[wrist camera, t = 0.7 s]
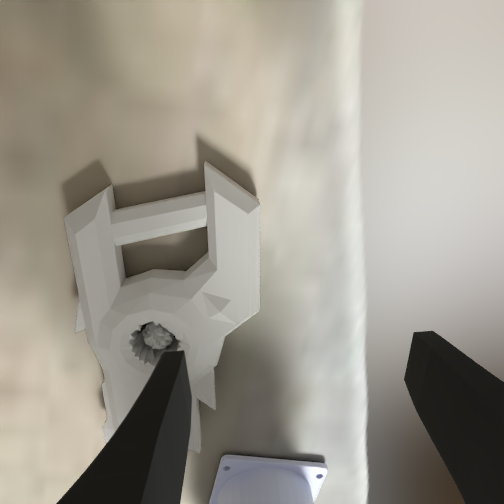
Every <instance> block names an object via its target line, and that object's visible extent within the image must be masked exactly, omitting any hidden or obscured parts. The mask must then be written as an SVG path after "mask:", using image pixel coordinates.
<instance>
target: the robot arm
mask: <svg viewBox="0 0 504 504" xmlns="http://www.w3.org/2000/svg"><path fill="white" fill-rule="evenodd" d="M404 380H405V383H406V385H407V388H408V391H409V393H410V396H411V399H412V401H413V404H414V406H415V408H416V411H417V413H418V414H419V417H420V418H421V420H422V422H423V424H424V426H425V428H426V430H427V431H428V433H429V435H430V437H431V439H432V441H433V443H434V444H435V446H436V448H437V450H438V452H439V453H440V455H441V457H442V459H443V461H444V462H445V464H446V466H447V468H448V470H449V472H450V474H451V475H452V477H453V479H454V481H455V483H456V485H457V487H458V489H459V491H460V493H461V495H462V497H463V499H464V501H465V504H504V382H503V381H501V380H499V379H498V378H497V377H495V376H494V375H492V374H491V373H490V372H488V371H487V370H486V369H484V368H483V367H481V366H480V365H478V364H477V363H475V362H474V361H473V360H472V359H471V358H469V357H468V356H466V355H465V354H464V353H462V352H461V351H459V350H458V349H457V348H456V347H454V346H453V345H452V344H450V343H449V342H447V341H446V340H445V339H444V338H442V337H441V336H439V335H438V334H437V333H435V332H434V331H425V332H414V334H413V339H412V343H411V349H410V353H409V358H408V363H407V368H406V373H405V378H404ZM191 411H192V394H191V388H190V382H189V376H188V370H187V364H186V358H185V352H184V350H181V351H168V352H164V353H163V354H162V355H161V357H160V359H159V361H158V363H157V365H156V366H155V368H154V370H153V372H152V374H151V376H150V378H149V379H148V381H147V383H146V385H145V386H144V388H143V390H142V391H141V393H140V395H139V396H138V398H137V400H136V401H135V403H134V404H133V406H132V408H131V409H130V411H129V412H128V414H127V415H126V417H125V418H124V420H123V421H122V423H121V424H120V425H119V427H118V428H117V430H116V431H115V433H114V434H113V436H112V437H111V438H110V440H109V441H108V442H107V444H106V445H105V447H104V448H103V449H102V450H101V452H100V453H99V454H98V456H97V457H96V458H95V459H94V461H93V462H92V463H91V464H90V466H89V467H88V468H87V469H86V471H85V472H84V473H83V474H82V475H81V476H80V478H79V479H78V480H77V481H76V482H75V483H74V484H73V486H72V487H71V488H70V489H69V490H68V491H67V492H66V494H65V495H64V496H63V497H62V498H61V499H60V500H59V501H58V502H57V503H56V504H180V500H181V493H182V486H183V479H184V473H185V466H186V459H187V452H188V445H189V438H190V431H191ZM327 472H328V468H327V465H326V464H324V463H318V462H307V461H296V460H285V459H273V458H262V457H251V456H240V455H224V456H223V457H222V458H221V461H220V464H219V468H218V472H217V475H216V479H215V483H214V486H213V490H212V494H211V498H210V501H209V504H314V501H315V499H316V497H317V495H318V492H319V490H320V488H321V486H322V483H323V481H324V479H325V477H326V474H327Z"/></svg>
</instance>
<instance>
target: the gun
mask: <svg viewBox="0 0 504 504" xmlns="http://www.w3.org/2000/svg"><path fill="white" fill-rule="evenodd" d="M204 174H205V191H203V192H198V193H193V194H188V195H183V196H178V197H174V198H169V199H164V200H159V201H154V202H149V203H144V204H139V205H135V206H130V207H125V208H120V209H116V207H115V200H114V193H113V186H112V184H111V185H110V186H108V187H107V188H106V189H104V190H103V191H101V192H100V193H98V194H97V195H95V196H94V197H93V198H91V199H90V200H88V201H87V202H85V203H84V204H82V205H81V206H80V207H78V208H77V209H75V210H74V211H72V212H71V213H70V214H68V215H67V216H66V217H64V223H65V228H66V233H67V238H68V243H69V248H70V253H71V258H72V263H73V268H74V273H75V278H76V283H77V288H78V293H79V301H78V310H77V319H76V327H75V333H77V332H79V331H82V330H84V329H86V333H87V338H88V342H89V344H90V346H91V348H92V350H93V352H94V354H95V356H96V357H97V359H98V361H99V363H100V365H101V367H102V369H103V373H104V379H105V380H104V381H103V383H102V385H101V386H102V391H103V397H104V402H105V407H106V412H107V419H106V421H105V423H104V425H103V428H102V429H103V434H104V439H105V443H107V442H108V441H109V440H110V438H111V437H112V436H113V434H114V433H115V431H116V430H117V428H118V427H119V425H120V424H121V423H122V421H123V420H124V418H125V417H126V415H127V414H128V412H129V411H130V409H131V408H132V406H133V404H134V403H135V401H136V400H137V398H138V396H139V395H140V393H141V391H142V390H143V388H144V386H145V385H146V383H147V381H148V379H149V378H150V376H151V374H152V372H153V370H154V368H155V366H156V365H157V363H158V361H159V359H160V357H161V355H162V354H163V353H164V352H168V351H181V350H184V352H185V358H186V364H187V370H188V376H189V382H190V388H191V394H192V411H191V431H190V438H189V445H188V450H191V451H195V452H197V453H199V454H200V452H201V440H202V439H201V426H200V412H199V400H200V401H202V402H203V403H205V404H206V405H208V406H209V407H211V408H212V409H214V410H215V411H216V399H215V376H214V367H215V366H216V365H217V364H218V361H219V357H220V354H221V350H222V346H223V343H224V339H225V336H227V335H228V334H229V333H231V332H232V331H233V330H235V329H236V328H237V327H239V326H240V325H241V324H243V323H244V322H245V321H247V320H248V319H249V318H250V317H252V316H253V315H254V314H256V313H257V312H258V311H260V203H259V199H258V198H256V197H255V196H254V195H252V194H251V193H249V192H248V191H247V190H245V189H244V188H243V187H241V186H240V185H238V184H237V183H236V182H234V181H233V180H232V179H230V178H229V177H227V176H226V175H225V174H223V173H222V172H221V171H219V170H218V169H216V168H215V167H214V166H212V165H211V164H210V163H208V162H207V161H205V163H204ZM206 226H207V231H208V252H207V253H206V254H205V255H204V256H203V257H201V258H200V259H199V260H198V261H197V262H196V263H195V264H194V265H192V266H191V267H190V268H189V269H188V270H187V271H177V270H161V269H153V270H150V271H146V272H143V273H140V274H137V275H134V276H131V277H128V278H126V276H125V269H124V262H123V255H122V248H121V245H124V244H129V243H133V242H138V241H142V240H147V239H151V238H156V237H160V236H165V235H170V234H174V233H179V232H183V231H188V230H192V229H197V228H201V227H206ZM148 322H150V323H149V324H148V325H146V328H144V329H143V332H141V331H140V330H141V327H142V325H144V324H146V323H148ZM173 334H174V335H175V337H176V338H173V336H174V335H173Z"/></svg>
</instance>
